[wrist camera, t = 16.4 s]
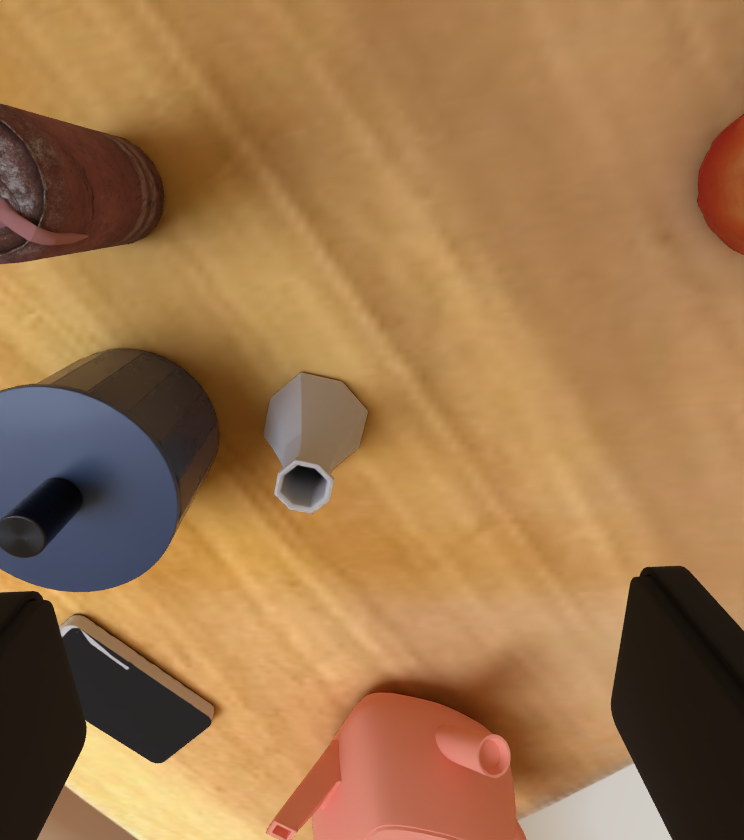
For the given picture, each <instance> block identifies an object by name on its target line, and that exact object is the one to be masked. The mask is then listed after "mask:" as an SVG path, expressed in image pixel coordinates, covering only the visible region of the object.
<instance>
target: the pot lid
mask: <svg viewBox="0 0 744 840" xmlns="http://www.w3.org/2000/svg"><path fill="white" fill-rule="evenodd" d="M179 515H180V492H179V485H178V482H177V478H176V474H175V471H174V469H173V467H172V464H171V462H170V460H169V458H168V456H167V454H166V453H165V451H164V449H163V448H162V446H161V445H160V443H159V442H158V441H157V440H156V438H155V437H154V436H153V434H152V433H151V432H150V431H149V430H148V429H147V428H146V427H145V426H144V425H143V424H142V423H141V422H140V421H138V420H137V419H136V418H135V417H134V416H132V415H131V414H130V413H129V412H127V411H125V410H124V409H122V408H121V407H119V406H118V405H116V404H115V403H113V402H111V401H109V400H107V399H105V398H103V397H101V396H98V395H96V394H93V393H90V392H87V391H85V390H81V389H77V388H73V387H69V386H63V385H55V384H29V385H21V386H15V387H12V388H8V389H4V390H1V391H0V569H2V570H3V571H5V572H7V573H9V574H11V575H13V576H14V577H16V578H19V579H21V580H24V581H26V582H28V583H31V584H34V585H38V586H41V587H44V588H49V589H54V590H59V591H69V592H91V591H99V590H105V589H109V588H113V587H116V586H119V585H122V584H125V583H127V582H129V581H131V580H133V579H135V578H137V577H139V576H140V575H142V574H143V573H144V572H146V571H147V570H149V569H150V568H151V567H152V566H153V565H154V564H155V563H156V562H157V561H158V560H159V559H160V558H161V556H162V555H163V554H164V552H165V551H166V549H167V548H168V546H169V544H170V542H171V540H172V538H173V537H174V534H175V531H176V528H177V525H178V521H179Z"/></svg>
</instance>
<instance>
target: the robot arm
mask: <svg viewBox="0 0 744 840" xmlns="http://www.w3.org/2000/svg"><path fill="white" fill-rule="evenodd" d="M611 711H612V716H613V719H614V723H615V725H616V727H617V729H618V731H619V733H620V735H621V737H622V739H623V741H624V743H625V745H626V747H627V749H628V751H629V753H630V756H631V758H632V760H633V762H634V764H635V765H636V768H637V769H638V772H639V773H640V776H641V778H642V780H643V781H644V784H645V786H646V788H647V789H648V792H649V794H650V796H651V798H652V800H653V802H654V804H655V806H656V808H657V810H658V812H659V814H660V816H661V818H662V820H663V822H664V824H665V826H666V828H667V830H668V832H669V834H670V836H671V838H672V840H744V631H743V630H742V629H741V628H740V626H739V625H738V624H737V623H736V622H735V621H734V620H733V619H732V618H731V617H730V615H729V614H728V613H727V612H726V611H725V610H724V609H723V608H722V607H721V606H720V604H719V603H718V602H717V601H716V600H715V599H714V598H713V597H712V596H711V595H710V593H709V592H708V591H707V590H706V589H705V588H704V587H703V586H702V585H701V584H700V582H699V581H698V580H697V579H696V578H695V577H694V576H693V575H692V574H691V573H690V571H689V570H687V569H686V568H685V567H682V566H664V567H646V568H644V569H643V570H642V572H641V574H640V577H634V578H633V579H632V580H631V583H630V588H629V594H628V600H627V606H626V612H625V619H624V625H623V631H622V637H621V643H620V649H619V655H618V661H617V667H616V673H615V679H614V686H613V692H612V698H611ZM85 738H86V721H85V718H84V714H83V710H82V707H81V703H80V700H79V696H78V693H77V689H76V686H75V682H74V679H73V675H72V671H71V668H70V664H69V661H68V657H67V654H66V650H65V647H64V643H63V640H62V636H61V632H60V629H59V625H58V622H57V618H56V615H55V611H54V608H53V605H52V603H51V602H50V601H47V600H43V598H42V596H41V595H40V594H39V593H38V592H35V591H27V592H2V593H0V840H37V838H38V836H39V834H40V832H41V830H42V828H43V826H44V824H45V822H46V820H47V818H48V816H49V814H50V812H51V810H52V808H53V806H54V804H55V802H56V800H57V798H58V796H59V794H60V792H61V790H62V788H63V786H64V784H65V782H66V780H67V778H68V776H69V774H70V772H71V770H72V768H73V766H74V764H75V762H76V760H77V758H78V756H79V754H80V752H81V750H82V748H83V746H84V742H85Z"/></svg>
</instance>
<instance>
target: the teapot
mask: <svg viewBox="0 0 744 840" xmlns="http://www.w3.org/2000/svg"><path fill="white" fill-rule="evenodd" d="M510 758H511V756H510V749H509V746H508V744H507V742H506V741H505V740H504V739H503V738H502V737H501V736H499V735H495V734H492V733H491V732H490V731H489V730H488V729H487V728H486V727H484V726H483V725H481V724H480V723H478V722H477V721H475V720H473V719H471V718H469V717H468V716H466V715H464V714H462V713H460V712H458V711H456V710H453V709H451V708H449V707H446V706H444V705H441V704H438V703H435V702H432V701H428V700H424V699H420V698H415V697H411V696H406V695H400V694H395V693H373V694H369V695H367V696H365V697H364V698H363V699H362V700H361V701H360V702H359V703H358V704H357V705H356V706H355V707H354V709H353V710H352V711H351V713H350V714H349V716H348V717H347V718H346V720H345V721H344V723H343V724H342V726H341V727H340V729H339V730H338V732H337V733H336V735H335V737H334V738H333V740H332V742H331V744H330V746H329V747H328V748H327V750H326V751H325V752H324V753H323V755H322V756H321V757H320V759H319V760H318V761H317V763H316V764H315V765H314V767H313V768H312V769H311V771H310V772H309V773H308V774H307V776H306V777H305V778H304V780H303V781H302V782H301V784H300V785H299V786H298V788H297V789H296V790H295V792H294V793H293V794H292V795H291V797H290V798H289V799H288V801H287V802H286V803H285V805H284V806H283V807H282V809H281V810H280V811H279V813H278V814H277V815H276V816H275V818H274V819H273V821H272V822H271V824H270V825H269V827H268V828H267V832H266V833H267V834H269V835H271V836H273V837H275V838H277V839H279V840H292V839H293V837H294V836H295V834H296V833H297V831H298V830H299V829H300V828H301V827H302V826H303V825H304V824H305V823H306V822H307V820H308V819H309V818H310V817H311V816H312V827H313V835H314V840H526V837H525V835H524V832H523V830H522V829H521V827H520V825H519V823H518V821H517V820H516V808H515V794H514V786H513V778H512V772H511V767H510Z"/></svg>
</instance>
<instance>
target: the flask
mask: <svg viewBox="0 0 744 840" xmlns="http://www.w3.org/2000/svg"><path fill="white" fill-rule="evenodd" d="M367 414H368V410H367V409H366V408H365V407H364V406H363V405H362V404H361V402H360V401H359V400H358V399H357V398H356V397H355V396H354V395H353V393H352V392H351V391H350V390H349V389H348V388H347V387H346V386H345V385H344V383H343V382H342V381H338V380H333V379H328V378H324V377H319V376H315V375H310V374H306V373H300V374H298V375H297V376H296V377H295V378H294V379H292V380H291V381H290V382H289V383H288V384H286V385H285V386H284V387H283V388H282V389H280V390H279V391H278V392H277V393H276V394H274V395H273V396H272V397H271V398H270V402H269V407H268V412H267V418H266V423H265V429H264V434H263V435H264V437H265V439H266V440H267V442H268V443H269V444H270V446H271V447H272V449H273V450H274V452H275V453H276V455H277V457H278V458H279V460H280V462H281V464H282V469H281V470H280V471H279V472H278V476H277V481H276V486H275V491H274V494H275V495H276V496H277V497H278V498H279V499H280V500H281V501H282V502H283V503H284V504H285V505H286V506H287V507H288V508H289V509H291V510H296V511H301V512H306V513H311V514H312V513H313V512H315V511H316V510H317V509H319V508H320V507H321V506H323V505H324V504H325V503H327V502H328V501H329V499H330V495H331V490H332V486H333V482H334V477H333V476H332V475H331V472H332V470H333V469H334V468H335V467H337V466H338V465H339V464H340V463H341V462H342V461H343V460H344V459H346V458H347V457H348V456H349V455H351V454H352V453H353V452H355V451H356V450H357V449H358V448H359V446H360V442H361V438H362V434H363V430H364V426H365V422H366V418H367Z"/></svg>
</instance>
